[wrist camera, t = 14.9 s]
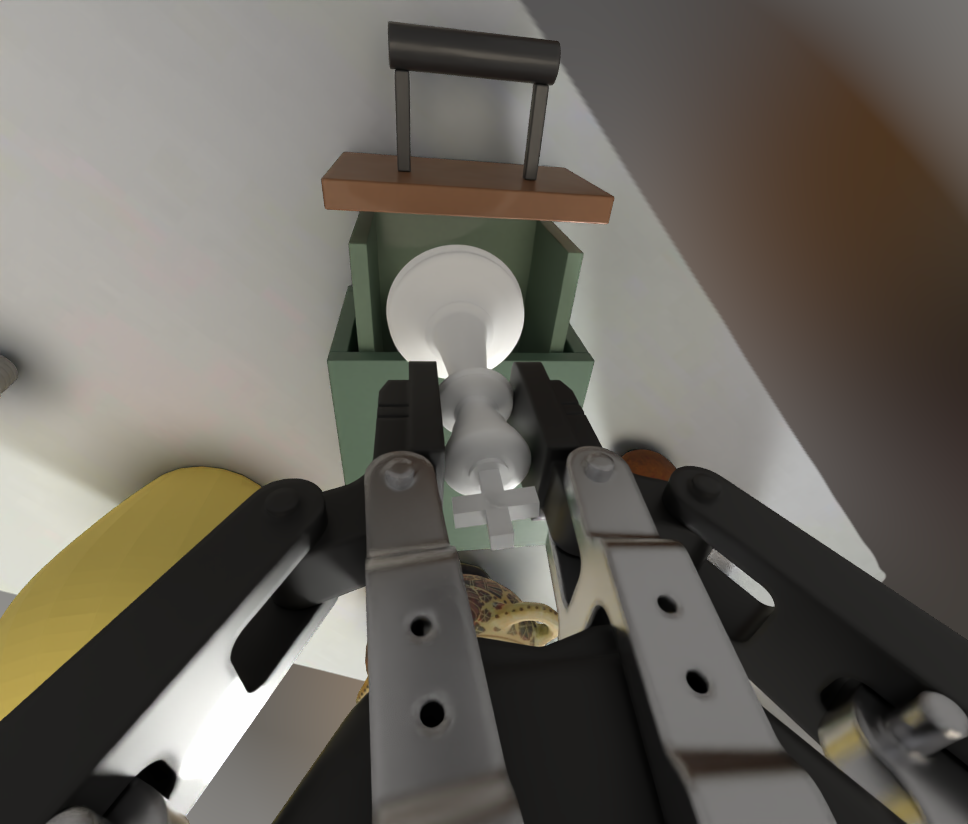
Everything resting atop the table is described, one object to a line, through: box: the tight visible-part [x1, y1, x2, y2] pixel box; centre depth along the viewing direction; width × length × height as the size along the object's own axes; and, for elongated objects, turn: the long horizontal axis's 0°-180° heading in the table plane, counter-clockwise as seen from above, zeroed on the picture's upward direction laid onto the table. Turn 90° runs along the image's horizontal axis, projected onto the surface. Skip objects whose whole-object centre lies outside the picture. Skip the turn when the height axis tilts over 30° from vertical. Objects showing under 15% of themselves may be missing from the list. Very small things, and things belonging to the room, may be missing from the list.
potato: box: [622, 449, 676, 481], centre depth 42 cm, size 6×12×6 cm, turn 42°
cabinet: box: [327, 286, 594, 551], centre depth 31 cm, size 16×14×10 cm
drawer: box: [321, 21, 614, 353], centre depth 25 cm, size 20×13×8 cm, turn 175°
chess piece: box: [386, 245, 540, 551], centre depth 12 cm, size 5×5×10 cm
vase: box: [0, 466, 262, 721], centre depth 29 cm, size 16×16×28 cm
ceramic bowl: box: [356, 563, 559, 703], centre depth 47 cm, size 24×18×15 cm
